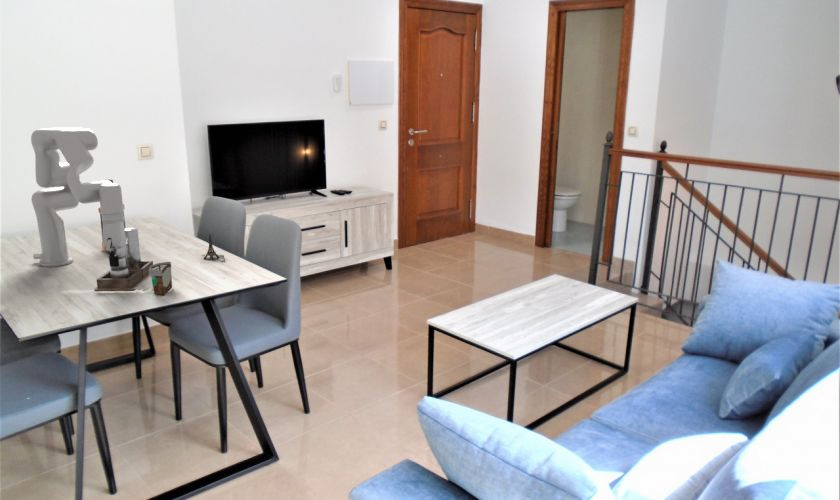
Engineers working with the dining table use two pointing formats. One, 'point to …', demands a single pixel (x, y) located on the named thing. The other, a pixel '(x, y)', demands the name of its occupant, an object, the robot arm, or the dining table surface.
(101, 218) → the whiskey bottle
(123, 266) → the plastic bottle
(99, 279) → the wooden compartment tray
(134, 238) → the grey metal canister
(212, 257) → the eiffel tower figurine
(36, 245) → the dining table surface
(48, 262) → the robot arm
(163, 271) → the food container
